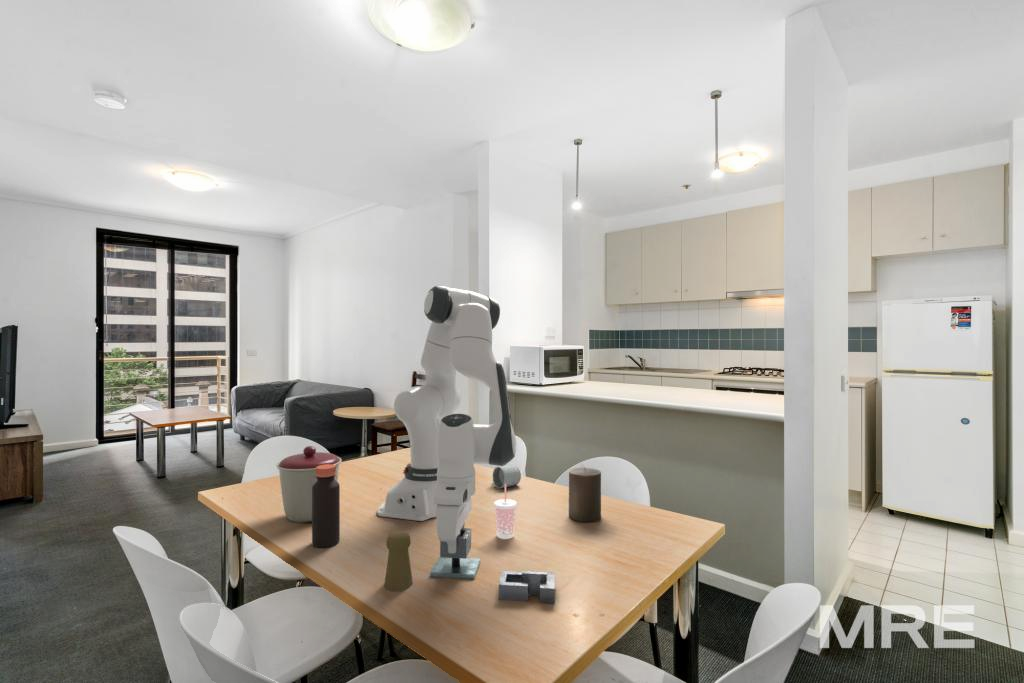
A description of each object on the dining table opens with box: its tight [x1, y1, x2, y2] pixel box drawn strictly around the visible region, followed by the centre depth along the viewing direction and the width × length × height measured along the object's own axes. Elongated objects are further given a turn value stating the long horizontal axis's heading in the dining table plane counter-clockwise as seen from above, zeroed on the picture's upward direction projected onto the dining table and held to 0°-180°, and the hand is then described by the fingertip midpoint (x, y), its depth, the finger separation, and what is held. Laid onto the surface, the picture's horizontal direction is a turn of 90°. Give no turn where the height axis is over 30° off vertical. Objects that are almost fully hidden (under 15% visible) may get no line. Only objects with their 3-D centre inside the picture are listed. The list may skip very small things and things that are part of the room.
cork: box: [384, 531, 413, 592], centre depth 109 cm, size 6×6×11 cm
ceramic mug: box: [492, 465, 522, 489], centre depth 183 cm, size 11×8×8 cm
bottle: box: [311, 464, 341, 549], centre depth 131 cm, size 7×7×20 cm
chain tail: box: [498, 570, 556, 605], centre depth 105 cm, size 12×7×4 cm, turn 84°
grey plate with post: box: [429, 532, 481, 580], centre depth 116 cm, size 10×8×9 cm
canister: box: [276, 445, 342, 523], centre depth 150 cm, size 18×18×21 cm
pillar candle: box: [568, 467, 602, 523], centre depth 150 cm, size 10×10×15 cm
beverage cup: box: [493, 484, 518, 540], centre depth 136 cm, size 6×6×14 cm
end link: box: [439, 527, 472, 559], centre depth 116 cm, size 6×6×4 cm
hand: (456, 545), depth 116 cm, fingers closed on end link, 6 cm apart
